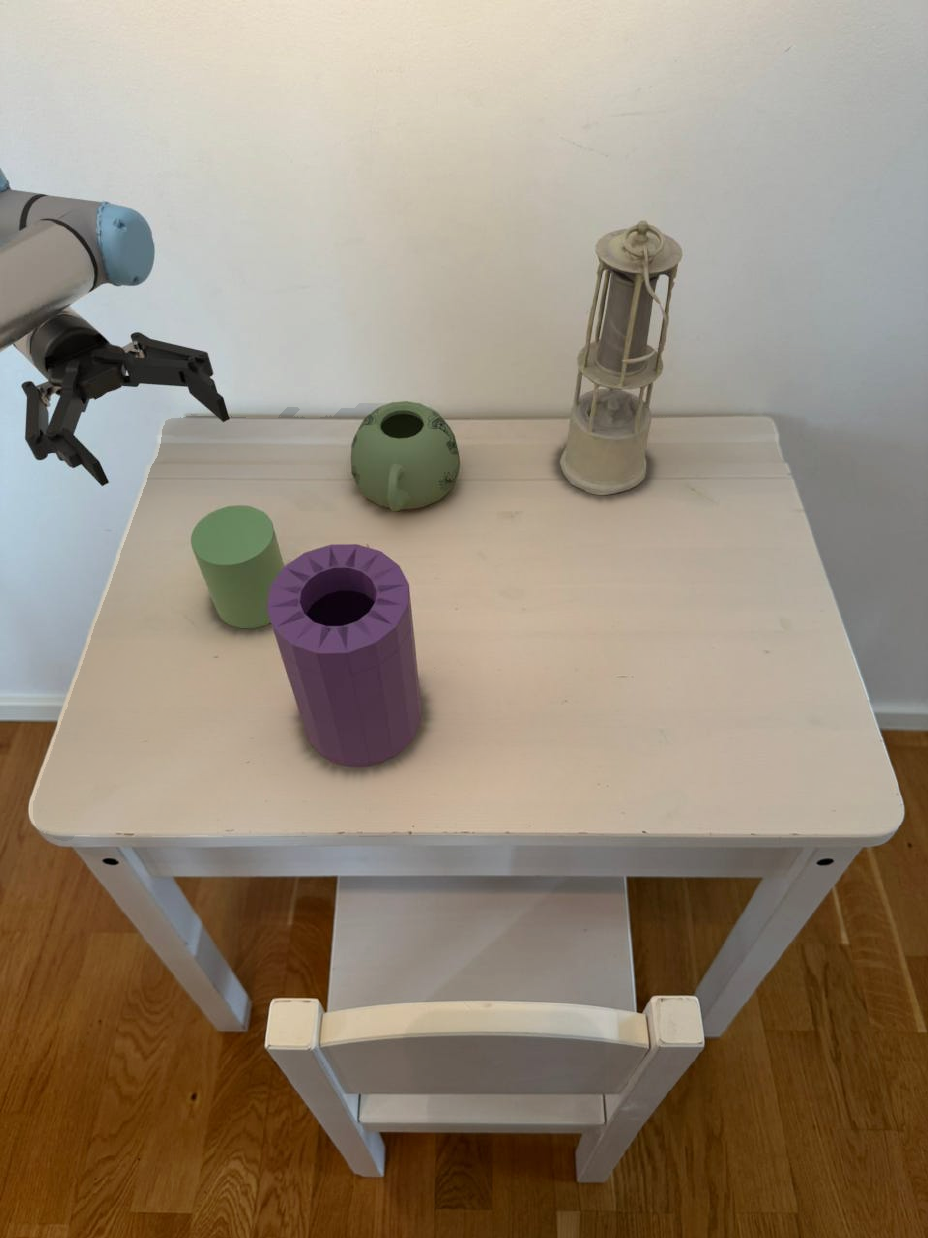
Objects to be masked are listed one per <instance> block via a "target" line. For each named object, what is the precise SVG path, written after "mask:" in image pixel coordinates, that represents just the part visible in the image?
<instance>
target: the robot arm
mask: <svg viewBox="0 0 928 1238" xmlns="http://www.w3.org/2000/svg"><path fill="white" fill-rule="evenodd" d="M152 232H153V231H152V229H151V226H150V225H149V223H148V220H147V219H146V218H145V217H144V216H143V215H142V214H141V213H140V212H139V211H137V210H135V209H134V208H131V207H127V206H123V205H118V204H115V203H111V202H110V201H105V200H103V201H98V200H97V201H96V200H89V199H88V200H87V199H81V198H80V199H79V198H73V197H66V196H65V197H64V196H57V195H49V194H45V193H39V192H32V191H25V190H17V189H12V187H11V186H10V180H9V179H8V178H7V177H6V175H5V173H4V172H3V170H2V168H1V167H0V353H2V352H3V351H5V350H6V349H8V348H9V347H11V346H13V347H14V348H16V349H17V351H18V352H19V353H20V354H22V355H23V357H25V359H27V361H28V362H29V363H30V364H31V365H32V366H34V367H35V368H36V370H37V371H38V372H39V373H40V374H41V375H42V376H43V377H44V378H45V379H46V380H47V381H45V382H43V383H40V384H37V385H35V382H34V381H32V380H28V381H25V382H22V384H21V385H20V387H21V389H22V391H23V393H24V395H25V396H26V406H25V407H26V408H25V409H26V410H25V428H24V429H25V430H24V431H25V432H24V440H25V442H26V444H27V445H28V448H29V449H30V450H31V453H32V454H33V457H34V458H35V460H36V461H43V460H45V459H47V458H48V456H49V455H50V454H55V456H56V457H57V459H58V461H61V462H64V463H65V464H66V465H67V466H68V467H70V468H72V469H76V468H77V467H79V466H82V467H83V468H84V469H85V470H86V471H87V472H88V473H89V474H90V475H91V476H92V478H93V479H94V480H95V481H96V482H97V483H99V485H100V486H101V487H104V486H106V485H107V484H109V483H110V481H109V479H108V477H107V475H106V473H105V471H104V468H103V466H102V464H101V462H100V460H99V459H98V458H97V457H96V456H95V455H94V454H93V453H92V452H91V451H90V450H89V449H88V447H86V446H85V445H84V444H83V442H81V441H80V440H79V439H78V438H77V437H76V436H75V432H76V430H77V426H78V424H79V422H80V418H81V416H82V414H83V413H86V410H87V408H88V406H89V402H90V400H92V399H93V400H95V401H96V400H98V399H99V398H102V397H103V396H105V395H106V394H108V393H110V392H114V391H117V390H118V389H121V388H122V387H129V388H138V387H139V386H140V385H141V384H142V385H157V386H169V387H185V388H187V389H188V392H189V394H190V395H191V396H192V397H194V398H195V399H196V400H197V401H198V402H199V403H200V404H201V405H203V406H204V407H205V408H206V409H208V410H209V412H211V413H212V414H213V415H214V416H215V417H217V418H218V419H219V420H220V421H221V422H222V423H226V422H227V421H229V420H230V416H229V412H228V409H227V405H226V402H225V398H224V397H223V396H222V395H221V394H220V393H219V392H218V389H217V386H216V383H215V380H214V379H213V378H211V377H213V376H214V370H213V367H212V363H211V360H210V356H209V353H208V352H207V351H204V350H200V349H195V348H192V347H187V346H183V345H179V344H174V343H171V342H166V341H161V340H157V339H153V338H150V337H148V336H147V335H145V334H144V333H142V332H139V331H135V332H132V333H131V334H130V340H131V342H129V343H128V344H126V345H123V346H122V347H121V346H119V345H115V344H112V343H111V342H110V341H109V340H108V339H107V338H106V337H105V336H104V335H103V334H102V333H101V332H100V331H98V330H97V329H96V328H95V327H94V326H93V325H92V324H91V323H89V322H88V321H87V320H86V319H85V318H84V317H83V316H81V315H80V314H79V313H78V312H77V311H76V310H75V309H74V308H72V306H71V305H73V304H74V303H76V302H78V301H79V300H80V299H82V298H83V297H85V296H86V295H87V294H89V293H91V292H93V291H95V290H96V289H97V288H99V287H101V286H102V285H106V284H109V285H112V286H114V287H122V286H125V287H127V286H128V287H136V286H139V285H141V284H143V283H144V282H145V281H146V280H147V279H148V278H149V276H150V274H151V273H152V270H153V267H154V263H155V255H156V250H155V242H154V238H153V233H152ZM54 394H55V395H57V396H59V398H58V400H57V402H56V405H55V408H54V410H53V413H52V415H51V418H50V419H49V417H50V415H49V414H50V413H49V410H48V408H50V407H51V405H52V404H51V403H50V401H51V400H52V395H54ZM49 420H50V421H49Z"/></svg>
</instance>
